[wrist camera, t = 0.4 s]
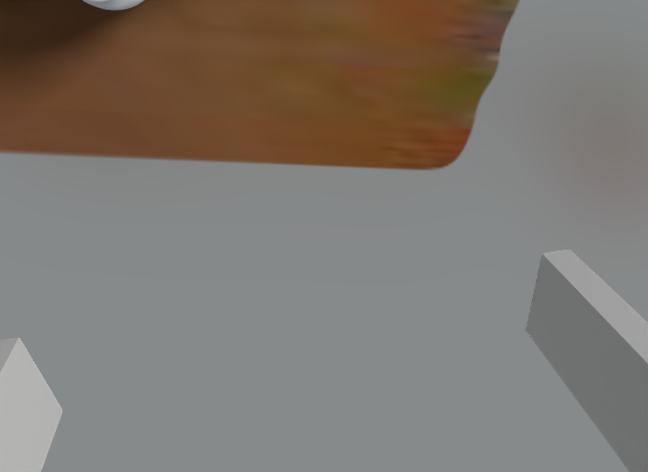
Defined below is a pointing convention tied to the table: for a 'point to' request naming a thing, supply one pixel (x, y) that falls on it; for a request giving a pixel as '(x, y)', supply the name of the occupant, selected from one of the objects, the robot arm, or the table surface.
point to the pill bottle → (114, 4)
